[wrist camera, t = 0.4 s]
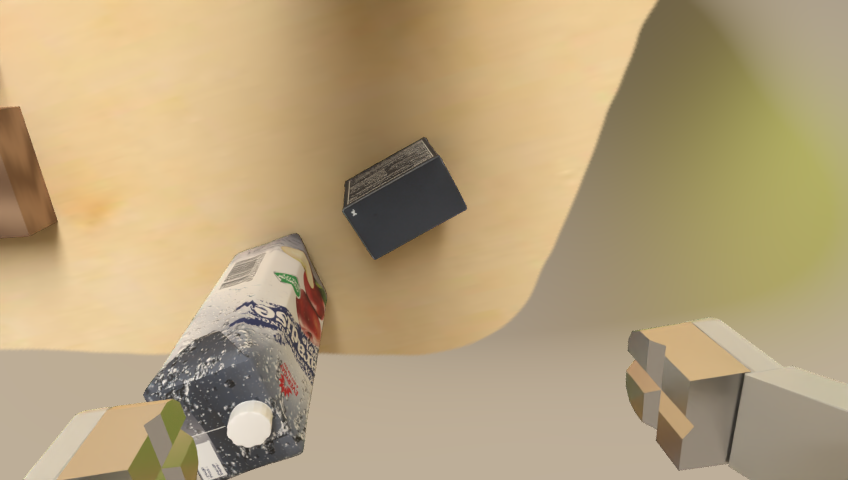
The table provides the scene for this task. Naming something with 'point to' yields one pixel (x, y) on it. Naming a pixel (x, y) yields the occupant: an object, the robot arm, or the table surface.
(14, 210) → the walnut block
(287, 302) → the juice carton
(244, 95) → the table surface
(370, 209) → the small box
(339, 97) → the table surface
